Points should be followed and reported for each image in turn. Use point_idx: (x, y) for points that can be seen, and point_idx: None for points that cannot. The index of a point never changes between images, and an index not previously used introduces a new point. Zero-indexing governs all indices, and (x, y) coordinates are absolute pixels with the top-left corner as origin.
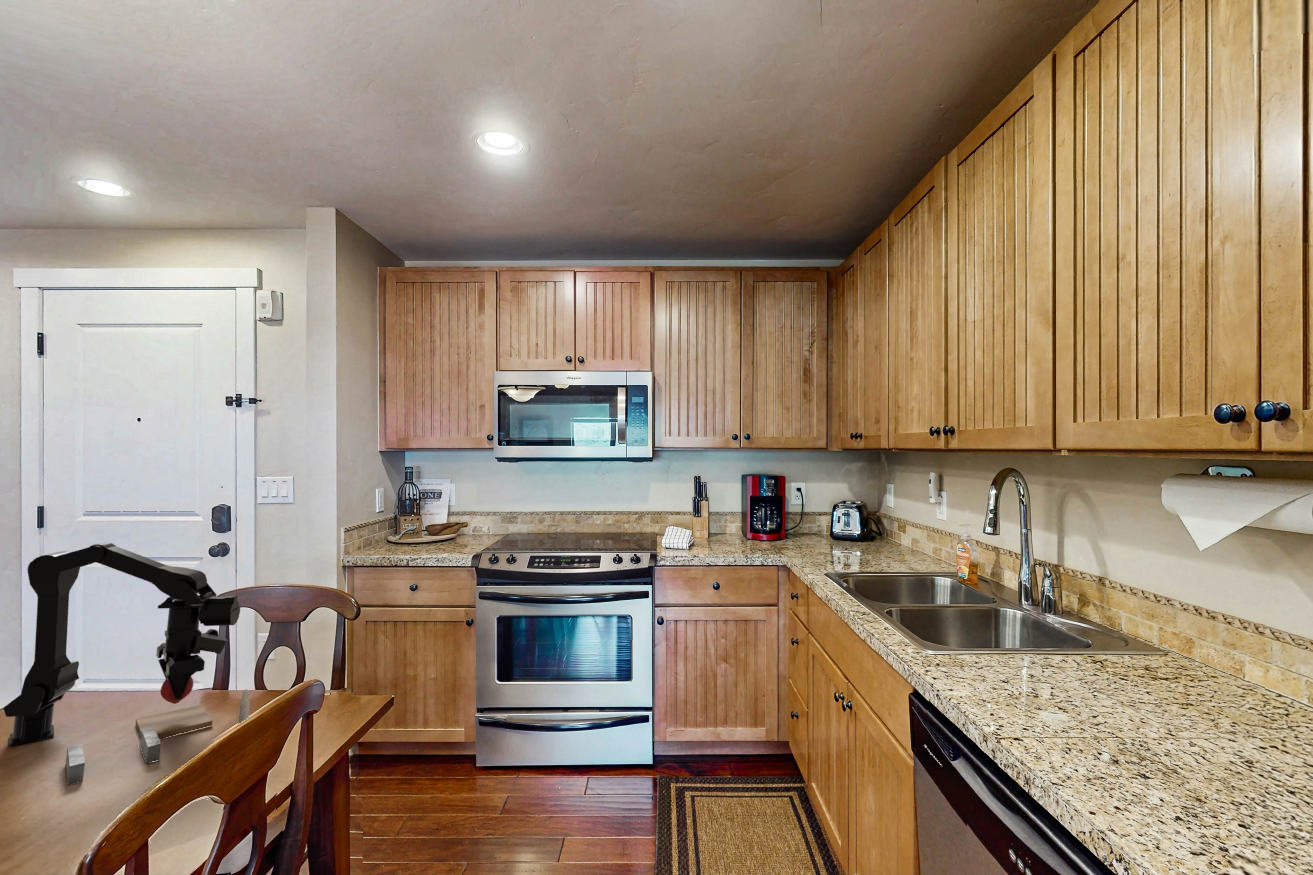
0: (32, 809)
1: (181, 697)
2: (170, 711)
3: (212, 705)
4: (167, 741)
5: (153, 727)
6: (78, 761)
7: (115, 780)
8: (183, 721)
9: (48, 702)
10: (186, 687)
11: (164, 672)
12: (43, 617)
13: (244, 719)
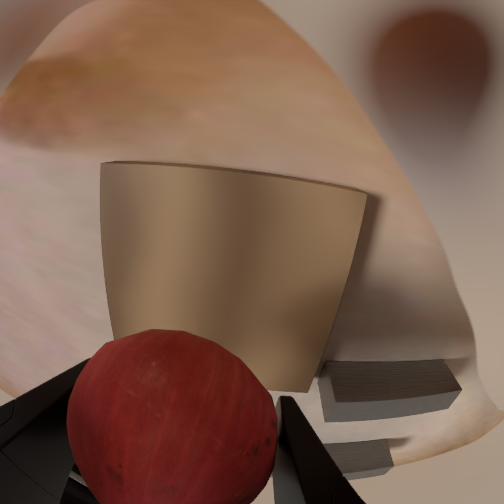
0: (403, 458)
1: (292, 399)
2: (105, 278)
3: (91, 115)
4: (350, 331)
5: (337, 402)
6: (378, 471)
7: None
8: (269, 282)
9: (72, 471)
10: (271, 430)
11: (62, 489)
12: None
13: None
